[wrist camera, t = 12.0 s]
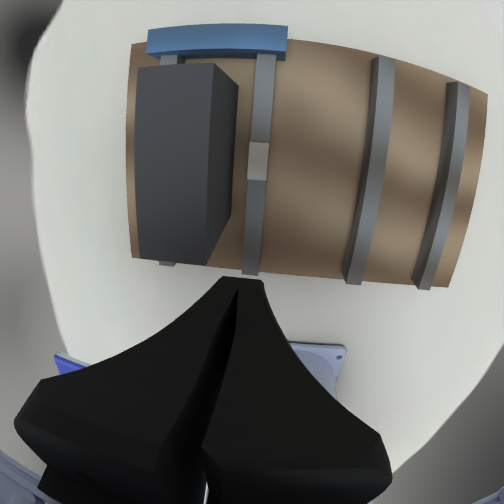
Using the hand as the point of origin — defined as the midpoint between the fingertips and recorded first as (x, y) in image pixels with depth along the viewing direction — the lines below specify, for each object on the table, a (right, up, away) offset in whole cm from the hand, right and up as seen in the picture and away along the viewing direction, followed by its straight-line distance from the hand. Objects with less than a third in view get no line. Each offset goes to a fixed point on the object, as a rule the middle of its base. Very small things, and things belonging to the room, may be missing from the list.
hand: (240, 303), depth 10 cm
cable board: (+4, +7, +8) cm, 11 cm away
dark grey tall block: (-2, +8, +7) cm, 11 cm away
